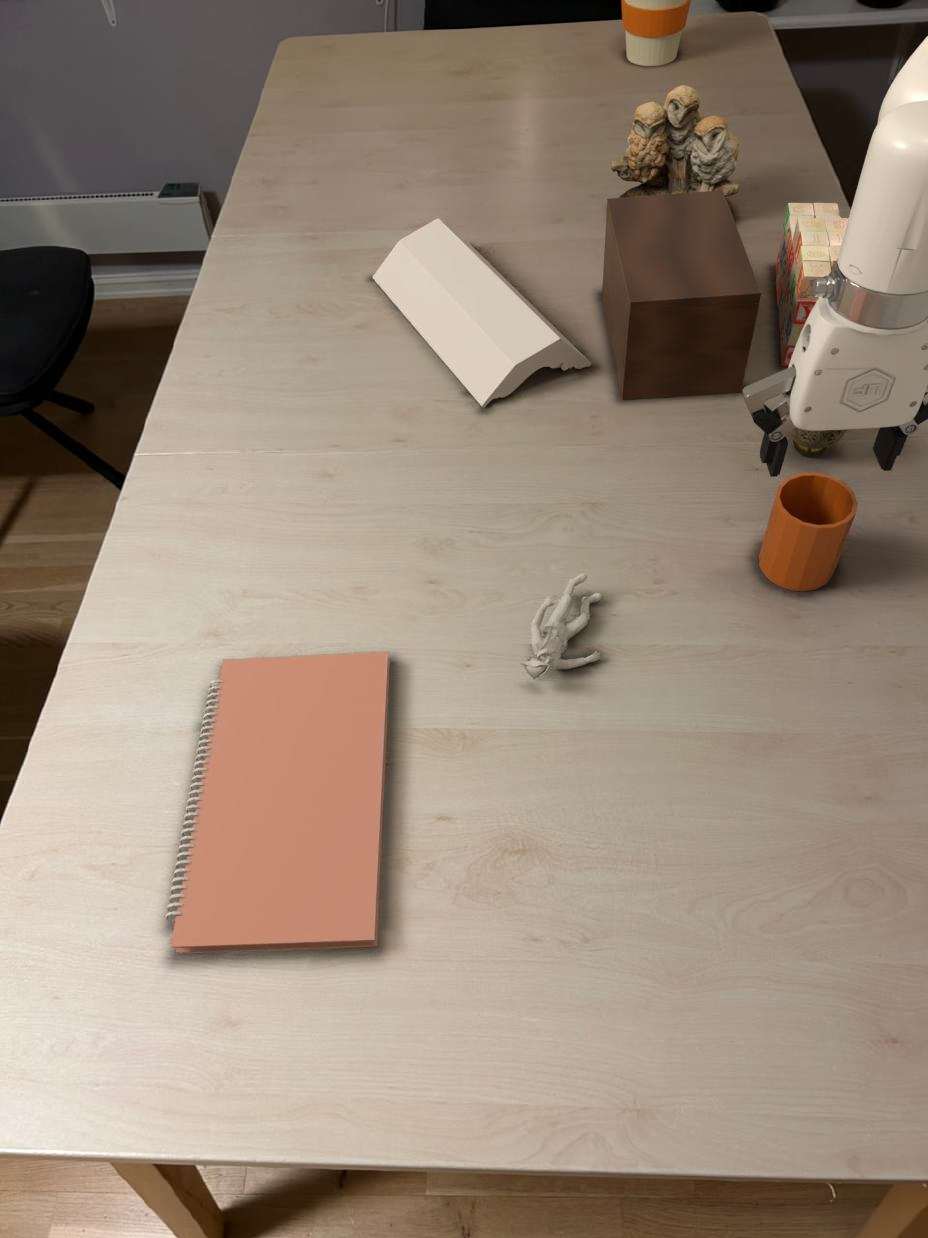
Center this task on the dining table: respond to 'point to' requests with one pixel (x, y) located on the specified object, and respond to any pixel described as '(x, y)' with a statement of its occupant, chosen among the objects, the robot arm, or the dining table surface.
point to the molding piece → (471, 313)
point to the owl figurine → (678, 149)
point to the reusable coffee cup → (653, 29)
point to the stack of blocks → (804, 264)
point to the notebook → (287, 807)
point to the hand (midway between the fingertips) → (825, 463)
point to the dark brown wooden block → (677, 295)
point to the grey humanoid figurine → (558, 632)
